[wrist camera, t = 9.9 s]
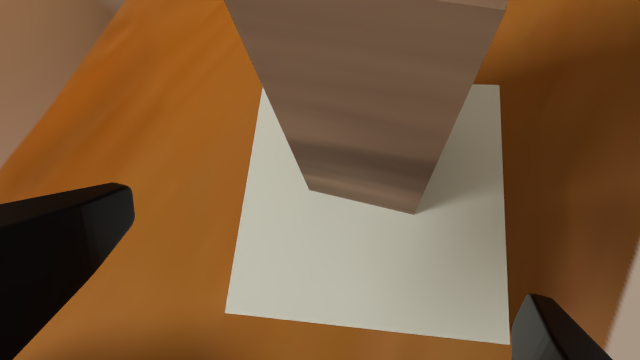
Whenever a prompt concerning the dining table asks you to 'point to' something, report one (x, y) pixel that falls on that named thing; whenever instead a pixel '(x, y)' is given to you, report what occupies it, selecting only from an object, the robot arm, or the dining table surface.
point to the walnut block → (367, 85)
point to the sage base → (380, 241)
